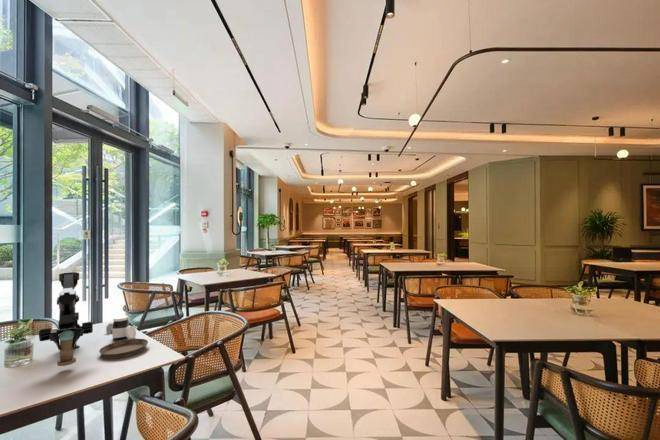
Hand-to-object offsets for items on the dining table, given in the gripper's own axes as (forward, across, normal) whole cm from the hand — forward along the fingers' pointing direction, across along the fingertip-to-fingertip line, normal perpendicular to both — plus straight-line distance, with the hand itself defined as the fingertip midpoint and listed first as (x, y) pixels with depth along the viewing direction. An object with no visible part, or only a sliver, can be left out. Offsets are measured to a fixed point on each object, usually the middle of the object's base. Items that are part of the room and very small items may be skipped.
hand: (66, 348), depth 145 cm
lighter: (-30, +20, +44) cm, 57 cm away
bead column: (+4, 0, +6) cm, 7 cm away
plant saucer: (0, +22, +15) cm, 27 cm away
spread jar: (-17, +24, +32) cm, 44 cm away
